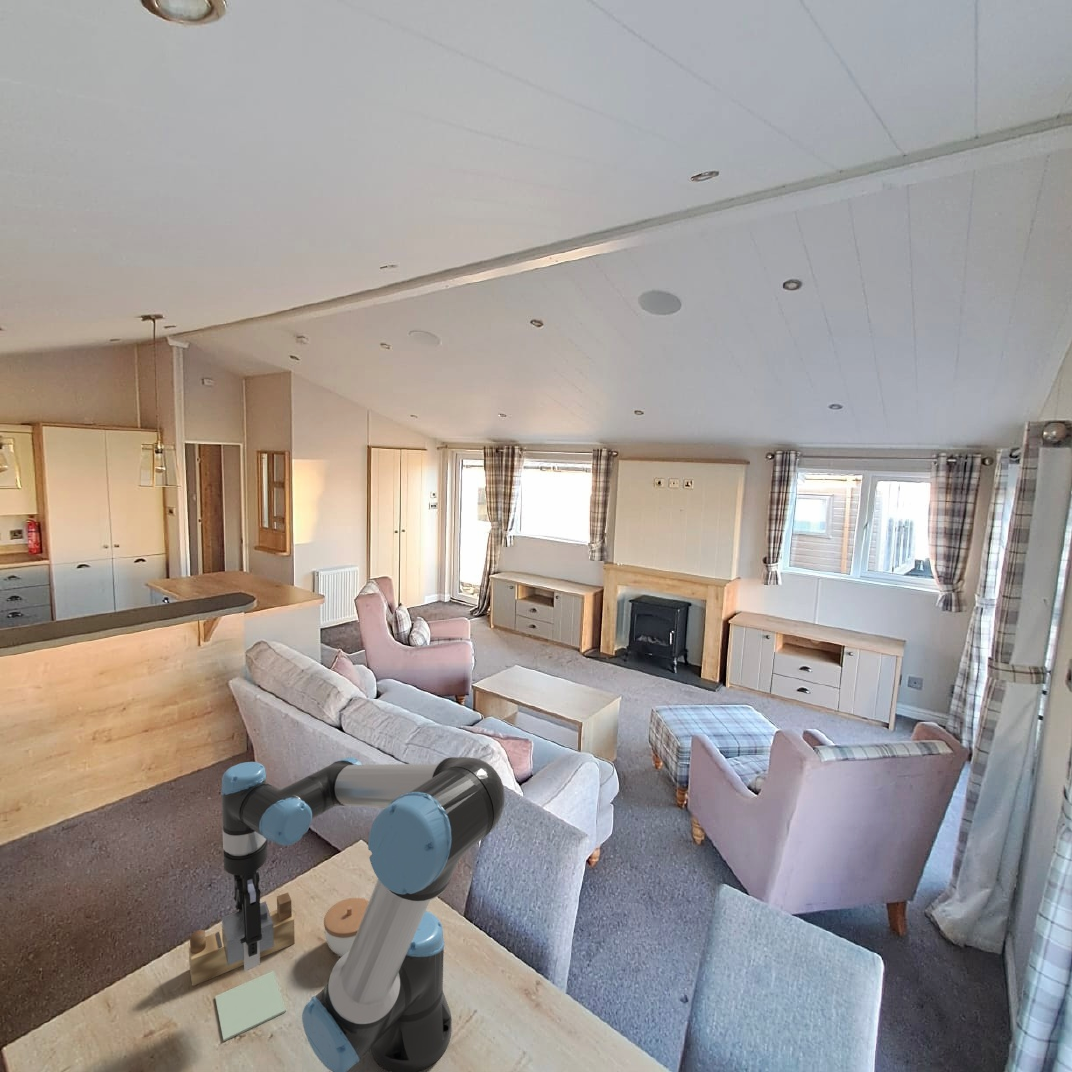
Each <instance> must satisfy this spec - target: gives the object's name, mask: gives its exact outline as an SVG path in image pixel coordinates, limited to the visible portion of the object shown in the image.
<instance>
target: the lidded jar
mask: <svg viewBox="0 0 1072 1072" xmlns="http://www.w3.org/2000/svg"><path fill="white" fill-rule="evenodd" d="M368 903H369V900H367V899H365V898H362V897H350V898H345V899H343V900H340V901H338V902H336V903H335V904H332V906H331V907H330V908H329V909H328V910H327V912H326V913H325V916H324V918H323V925H324V935H325V941H326V944H327V946H328V948H329V949H330V950H331V951H332V952H333V954H336V955H338V956H339V957H340V958H341V957H342V956H343V955H344V954H345V953H347V952H348V951H350V949H351V946H352V944H353V941H354V939H355V936H356V934H357V931H358V929H359V926H360V924H361V921H362V918H363V916H364V913H365V911H366V908H367V906H368Z"/></svg>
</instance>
